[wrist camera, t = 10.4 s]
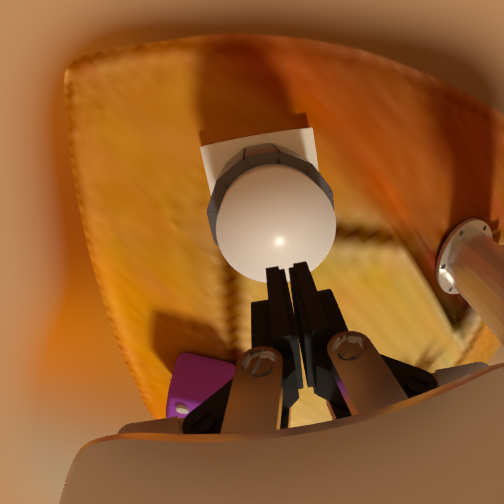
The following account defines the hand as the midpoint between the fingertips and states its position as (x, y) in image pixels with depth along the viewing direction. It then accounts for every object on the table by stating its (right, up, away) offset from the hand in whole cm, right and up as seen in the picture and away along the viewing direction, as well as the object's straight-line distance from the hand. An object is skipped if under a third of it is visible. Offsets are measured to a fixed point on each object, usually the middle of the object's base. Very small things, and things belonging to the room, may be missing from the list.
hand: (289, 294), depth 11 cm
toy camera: (-8, -18, +31) cm, 36 cm away
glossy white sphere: (0, +6, +12) cm, 14 cm away
